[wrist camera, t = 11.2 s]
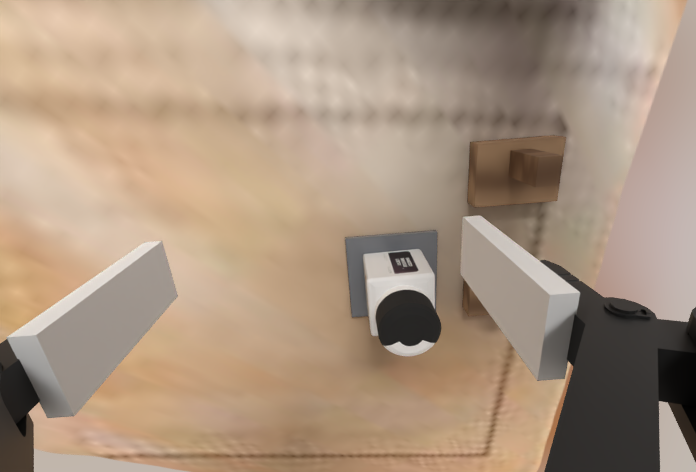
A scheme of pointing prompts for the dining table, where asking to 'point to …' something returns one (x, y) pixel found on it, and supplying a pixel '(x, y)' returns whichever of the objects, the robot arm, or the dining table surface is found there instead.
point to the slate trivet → (383, 244)
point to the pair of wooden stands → (512, 180)
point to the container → (401, 301)
